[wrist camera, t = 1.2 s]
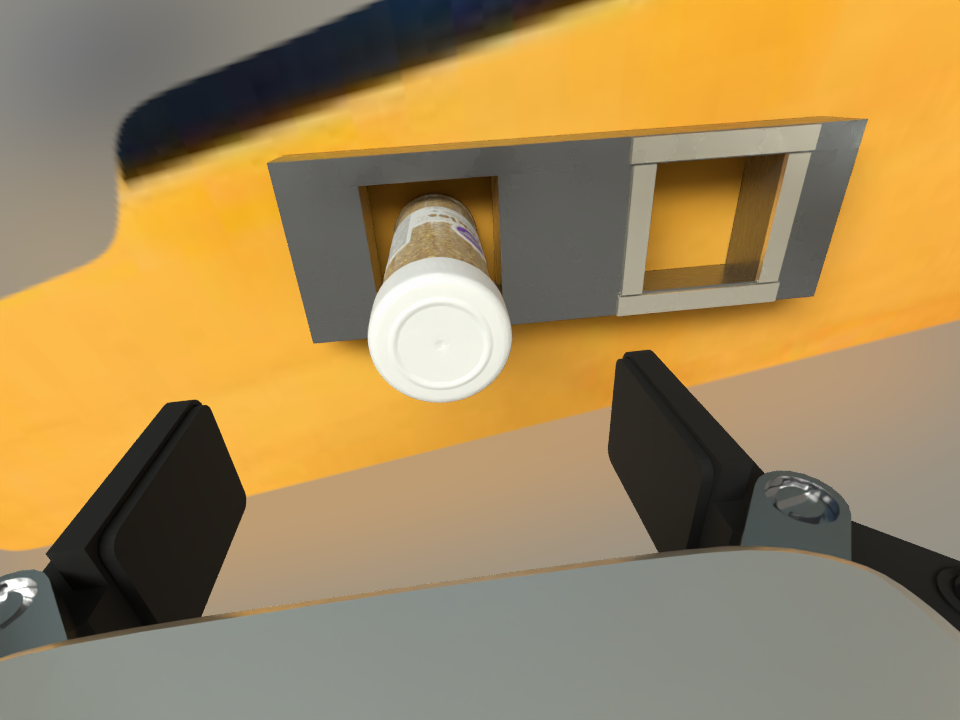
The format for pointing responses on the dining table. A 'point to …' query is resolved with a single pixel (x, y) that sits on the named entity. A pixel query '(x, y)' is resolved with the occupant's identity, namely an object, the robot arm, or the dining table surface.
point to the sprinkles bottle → (438, 306)
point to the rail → (578, 218)
